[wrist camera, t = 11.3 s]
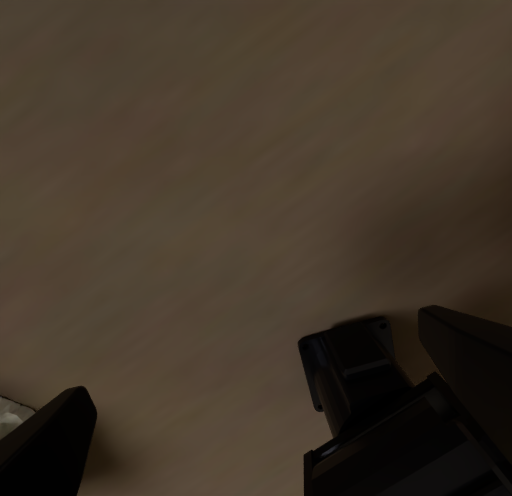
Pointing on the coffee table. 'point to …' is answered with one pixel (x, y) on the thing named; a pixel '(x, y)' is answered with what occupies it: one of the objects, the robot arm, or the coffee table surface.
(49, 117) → the coffee table surface
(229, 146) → the coffee table surface
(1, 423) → the ceramic cottage
